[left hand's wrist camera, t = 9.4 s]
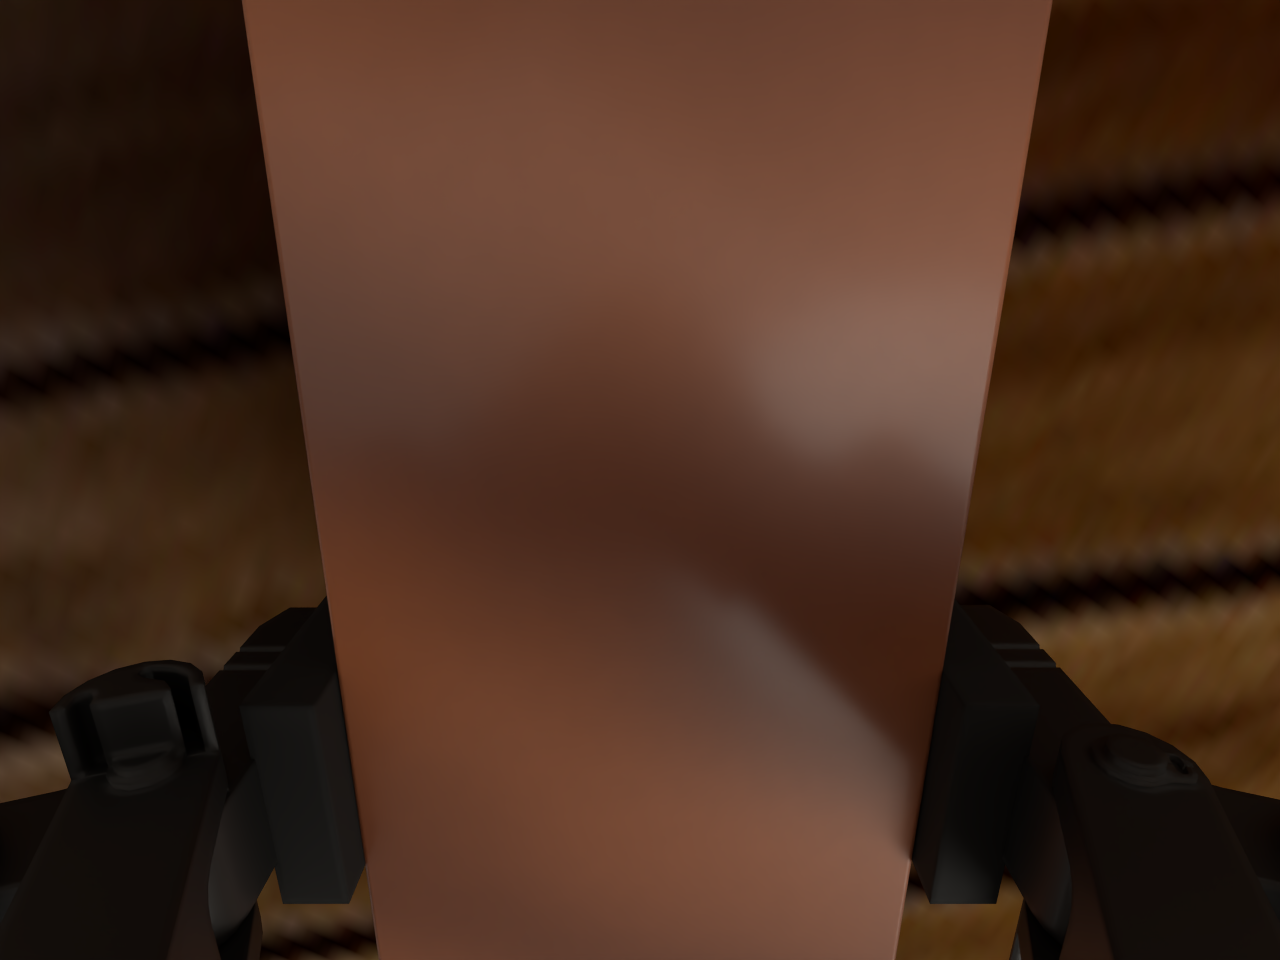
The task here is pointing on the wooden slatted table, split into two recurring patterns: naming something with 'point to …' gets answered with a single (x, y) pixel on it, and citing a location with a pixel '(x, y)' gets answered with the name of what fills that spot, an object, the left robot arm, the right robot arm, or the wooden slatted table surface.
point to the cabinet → (642, 444)
